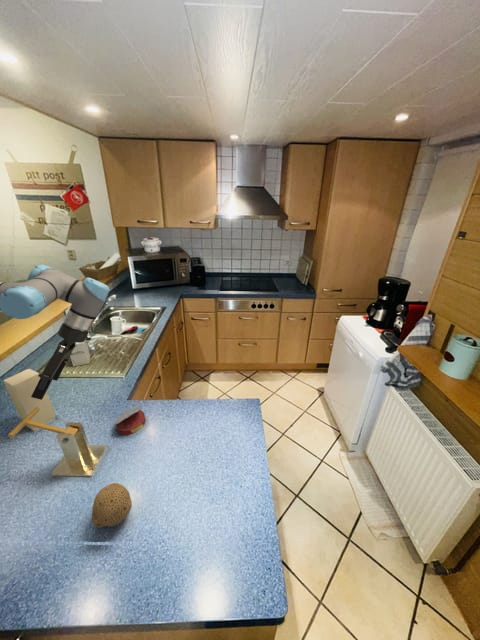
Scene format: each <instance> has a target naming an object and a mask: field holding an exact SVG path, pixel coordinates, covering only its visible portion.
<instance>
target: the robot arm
mask: <svg viewBox="0 0 480 640" xmlns="http://www.w3.org/2000/svg"><path fill="white" fill-rule="evenodd" d="M109 293H110V287H109V285H107V284H105V283H104V282H101V281H100V280H96V279H94V278H91V277H85V278H84V280H80V279H77V278H76V277H73V276H71V275H69V274H67V273H65V272H62V271H61V270H58V269H57V268H55V267H51V266H48V265H46V264H37V265H35V267H34V268H32V269H31V270H30V272H29V274H28V276H27V280H26V281H23V282H13V281H12V282H9V281H7V282H6V281H0V313H3V314H4V315H6V316H8V317H11V318H13V319H16V320H26V319H29V318H32V317H33V316H36V315H38V314H40V313H41V312H42V311H43V310H44V309H46V308H47V307H49V306H50V305H52V304H53V303H54V302H55V301H57V300H58V299H59V300H61V301H63V302H65V303H67V304H70V305H71V306H70V307H69V309H68V311H67V313H66V315H65V316H64V318H63V322H62V323H61V325H60V327H59V329H58V330H57V335H58V336H59V337H60V338H62V340H61V341H59V342H58V344H57V347H56V348H55V351H54V352H53V354H52V356H51V358H50V359H49V361H48V362H47V364H46V366H45V368H44V369H43V370H42V373H39V375H38V377H40V380H39V382H38V384H37V386H36V388H35V390H34V392H33V394H32V396H31V397H32V398H36V399H40V400H42V399H43V397H44V395H45V393H46V392H47V391H48V390H49V388H50V386H51V384H52V381H56V382H58V380H59V378H60V376H61V374H62V372H63V371H64V369H65V366H66V364H67V363H70V362H71V358H70V355H71V353H72V351H73V349H74V348H75V346H76V342H77V343H81V342H84V341H85V339H86V340H87V337H88V336H89V332H90V330H92V327H93V326H95V325H96V324H97V322H96V319H97V317H98V315H99V313H100V312H101V310H102V308H103V306H104V304H105V303H106V300H107V297H108V295H109Z"/></svg>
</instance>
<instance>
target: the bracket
mask: <svg viewBox="0 0 480 640" xmlns="http://www.w3.org/2000/svg"><path fill="white" fill-rule="evenodd" d="M64 426H65V429H67V428H68V427H72V428H76V429H78V433H77V435H76V437H74V434H68V433H57V435H55V436H56V439H57V442H58V444H59V446H60V449H61V451H62V453H63V457H62V458H61V459H60V461H59V462H58V463H57V465H56V467H55V468H54V470H53V471H52V472H51V474H50V475H51V476H52V477H80V478H81V477H84V478H85V477H86V478H87V477H90V478H92V477H93V475H94V473H95V471H96V469H97V467H98V466H99V465H100V463H101V460H102V459H103V457H104V455H105V453H106V451H107V450H108V447H109V446H108V445H90V443H89V440H88V437H87V435H86V431H85V429H84V426H83V423H82V422H74V421H73V422H71V421H70V422H69V421H67V422H66V423H65V424H64Z"/></svg>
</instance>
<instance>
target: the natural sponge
mask: <svg viewBox="0 0 480 640" xmlns="http://www.w3.org/2000/svg"><path fill="white" fill-rule="evenodd" d="M130 494H131V493H130V492H129V490H128V489H127V488H126V486H125V485H123V484H121V483H117V482H114V483H113V482H112V483H110V484H108V485H105V486H104V487H102V488H101V489H100V490H99V491H98V492H97V494H96V495H95V498H94V500H93V503H92V510H91V523H92V525H93V526H94V527H96V528H104V527H108V528H109V527H111V528H112V527H115V526H118V525H119V524H121V523H122V522H123V521H124V520H125V519H126V518H127V517H128V515H129V514H130V512H131V510H132V506H133V505H132V504H133V502H132V499H131V495H130Z"/></svg>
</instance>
